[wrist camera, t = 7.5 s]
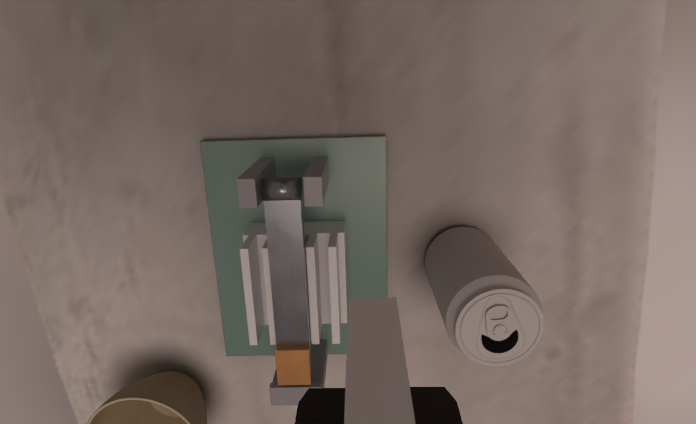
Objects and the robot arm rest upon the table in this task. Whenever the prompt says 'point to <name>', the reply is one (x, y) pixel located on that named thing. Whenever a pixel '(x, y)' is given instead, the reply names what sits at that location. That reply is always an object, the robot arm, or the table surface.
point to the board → (338, 204)
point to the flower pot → (155, 402)
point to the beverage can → (483, 298)
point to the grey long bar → (288, 278)
